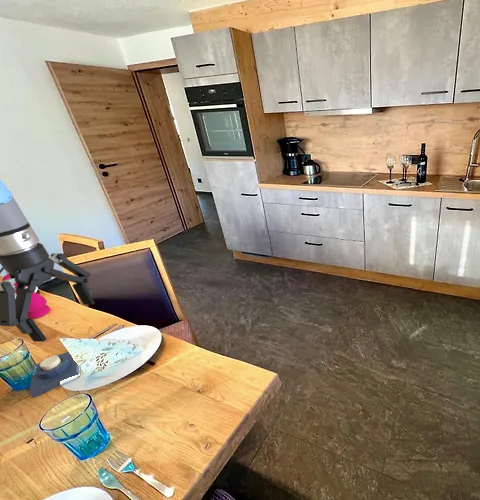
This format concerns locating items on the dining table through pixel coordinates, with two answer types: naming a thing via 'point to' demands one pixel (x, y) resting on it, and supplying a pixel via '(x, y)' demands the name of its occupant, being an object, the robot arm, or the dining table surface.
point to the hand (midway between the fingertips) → (66, 320)
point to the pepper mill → (34, 303)
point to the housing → (53, 375)
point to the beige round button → (50, 363)
